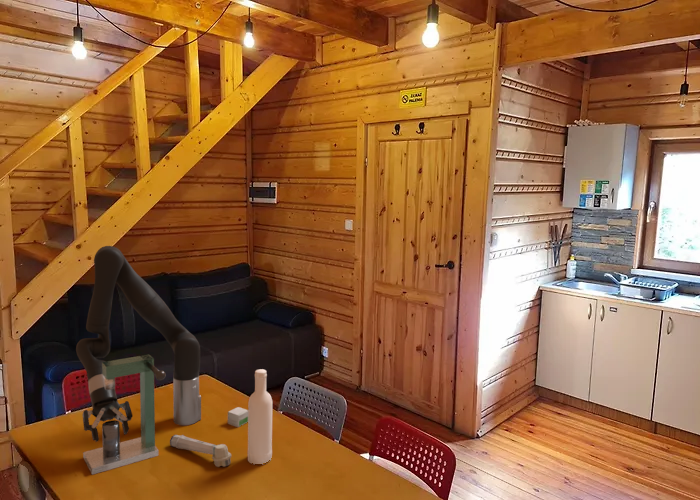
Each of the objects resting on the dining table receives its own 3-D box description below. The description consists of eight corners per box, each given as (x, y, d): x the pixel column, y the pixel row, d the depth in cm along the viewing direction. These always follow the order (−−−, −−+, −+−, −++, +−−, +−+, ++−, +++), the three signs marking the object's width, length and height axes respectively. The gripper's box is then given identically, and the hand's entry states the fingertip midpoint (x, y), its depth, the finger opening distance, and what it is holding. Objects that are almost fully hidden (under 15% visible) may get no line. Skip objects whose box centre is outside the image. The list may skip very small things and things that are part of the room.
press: (147, 440, 178) (145, 351, 174) (167, 467, 162) (166, 369, 158) (83, 458, 165) (80, 362, 162) (99, 488, 149) (96, 382, 146)
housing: (117, 448, 169) (117, 417, 167) (121, 454, 165) (121, 423, 164) (101, 452, 166) (100, 421, 164) (105, 459, 162) (104, 427, 160)
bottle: (276, 455, 171) (277, 368, 167) (264, 467, 163) (265, 376, 160) (255, 451, 173) (255, 365, 170) (242, 462, 166) (243, 373, 163)
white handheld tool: (179, 431, 178) (233, 441, 165) (181, 450, 178) (235, 461, 165) (167, 437, 173) (221, 448, 161) (169, 456, 174) (223, 468, 161)
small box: (238, 427, 190) (238, 415, 189) (227, 423, 193) (227, 411, 192) (248, 422, 195) (249, 410, 194) (237, 418, 198) (237, 406, 197)
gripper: (80, 390, 164) (89, 438, 156) (126, 381, 173) (137, 426, 165) (77, 400, 169) (85, 448, 161) (122, 391, 178) (133, 435, 170)
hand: (112, 437), depth 163 cm, fingers open, 8 cm apart
